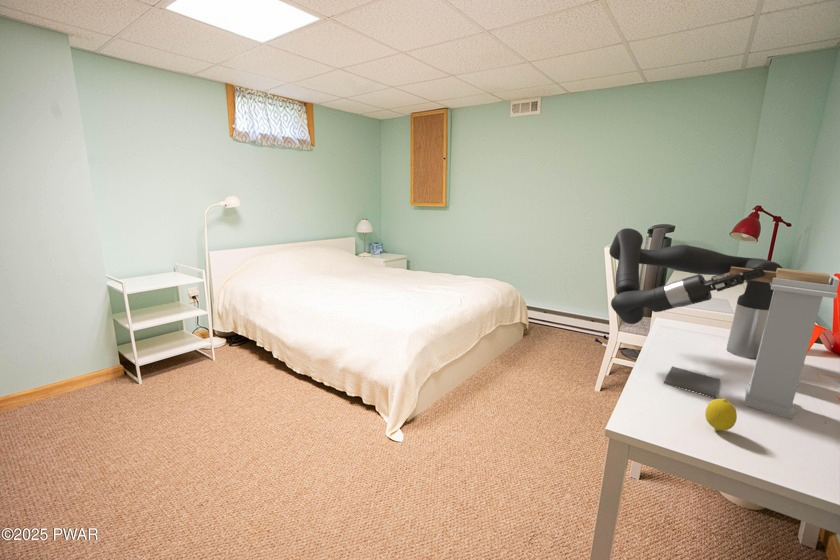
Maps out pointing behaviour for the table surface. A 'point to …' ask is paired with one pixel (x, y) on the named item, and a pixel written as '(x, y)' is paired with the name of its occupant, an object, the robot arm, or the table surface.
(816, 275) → the bar
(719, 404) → the lemon
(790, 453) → the table surface
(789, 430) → the table surface
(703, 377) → the mat
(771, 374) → the stand
